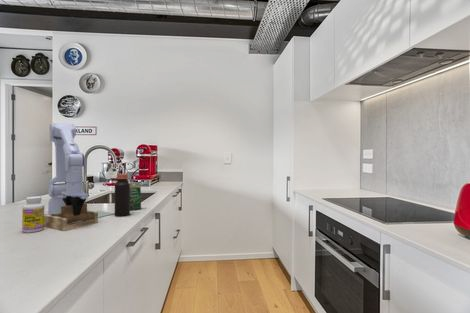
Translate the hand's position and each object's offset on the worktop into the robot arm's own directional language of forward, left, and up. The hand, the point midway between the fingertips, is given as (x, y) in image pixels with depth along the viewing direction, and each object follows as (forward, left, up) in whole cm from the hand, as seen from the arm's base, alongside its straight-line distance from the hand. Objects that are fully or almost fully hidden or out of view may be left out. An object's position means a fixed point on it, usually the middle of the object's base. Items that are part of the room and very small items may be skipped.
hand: (74, 214), depth 107 cm
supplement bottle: (-6, -12, -5) cm, 14 cm away
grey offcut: (-9, 0, -2) cm, 9 cm away
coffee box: (-2, +32, -5) cm, 33 cm away
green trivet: (-8, +15, -4) cm, 18 cm away
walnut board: (0, 0, -3) cm, 3 cm away
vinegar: (+3, +21, -5) cm, 22 cm away
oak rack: (-4, 0, -4) cm, 6 cm away
